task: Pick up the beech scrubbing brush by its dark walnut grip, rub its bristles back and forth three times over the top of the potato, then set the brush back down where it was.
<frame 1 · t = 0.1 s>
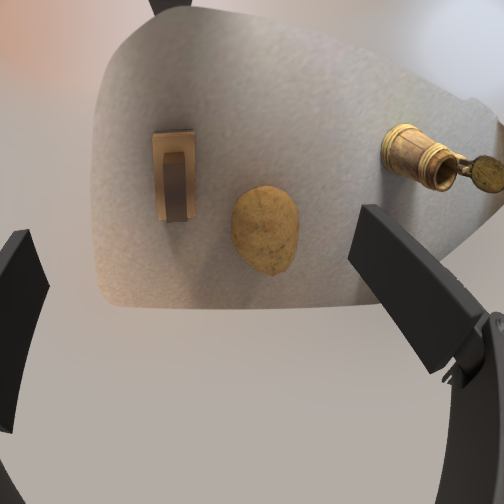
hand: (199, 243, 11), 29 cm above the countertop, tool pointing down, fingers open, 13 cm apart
potato: (258, 216, 45), on the countertop
wooden mug: (409, 145, 43), on the countertop
brush: (174, 170, 37), on the countertop
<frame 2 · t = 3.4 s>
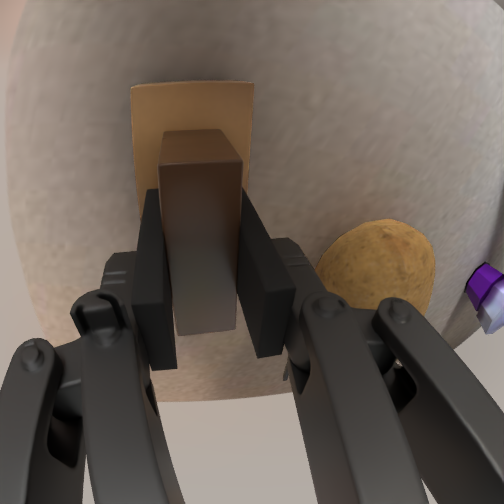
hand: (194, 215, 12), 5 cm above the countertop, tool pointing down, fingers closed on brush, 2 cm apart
potato: (345, 268, 23), on the countertop
brush: (189, 178, 16), on the countertop, touching gripper
potion bottle: (476, 277, 32), on the countertop
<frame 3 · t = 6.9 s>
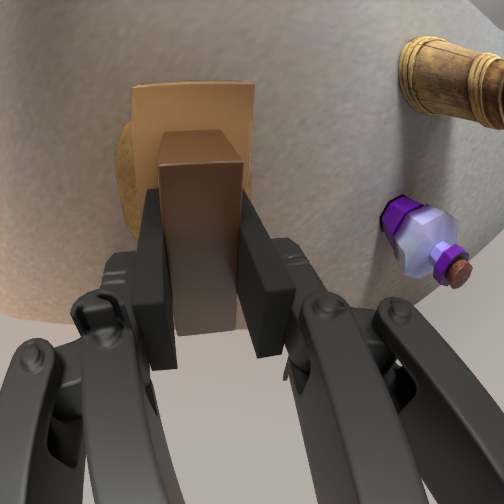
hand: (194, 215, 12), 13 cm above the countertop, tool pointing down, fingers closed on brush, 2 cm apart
potato: (184, 174, 24), on the countertop
wooden mug: (439, 73, 23), on the countertop
brush: (189, 178, 16), point 8 cm above the countertop, touching gripper
potion bottle: (396, 214, 33), on the countertop
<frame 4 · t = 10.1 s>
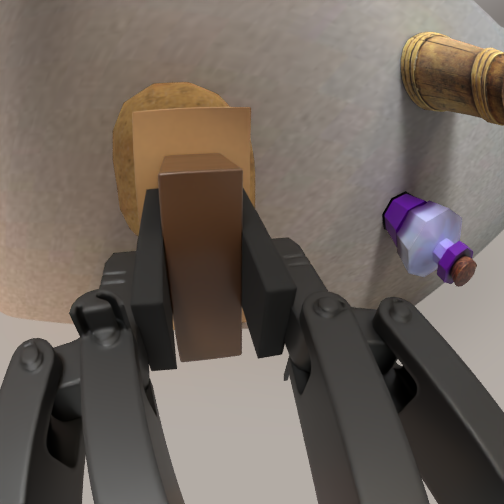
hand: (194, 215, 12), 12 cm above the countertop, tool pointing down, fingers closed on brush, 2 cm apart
potato: (185, 172, 23), on the countertop
wooden mug: (442, 69, 22), on the countertop
brush: (190, 209, 16), point 9 cm above the countertop, tilted 10°, touching gripper
potion bottle: (399, 212, 32), on the countertop
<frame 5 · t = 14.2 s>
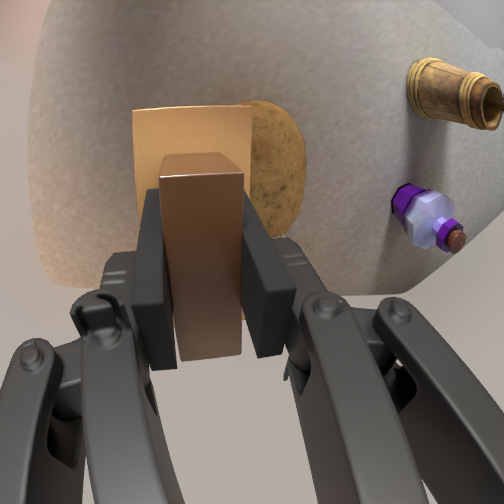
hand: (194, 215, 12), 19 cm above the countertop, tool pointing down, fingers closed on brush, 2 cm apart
potato: (248, 157, 31), on the countertop
wooden mug: (438, 86, 30), on the countertop
brush: (190, 207, 16), point 15 cm above the countertop, tilted 8°, touching gripper
potion bottle: (404, 199, 40), on the countertop
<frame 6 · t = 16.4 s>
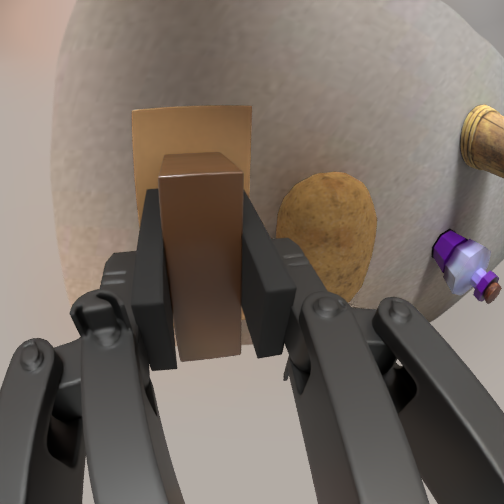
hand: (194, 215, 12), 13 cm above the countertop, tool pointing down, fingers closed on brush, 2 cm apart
potato: (309, 219, 30), on the countertop
wooden mug: (485, 133, 28), on the countertop
brush: (190, 207, 16), point 9 cm above the countertop, tilted 9°, touching gripper
potion bottle: (443, 243, 38), on the countertop
when the fingers open (5 cm above the countertop, at t = 18.3 s): brush stays where it is, on the countertop.
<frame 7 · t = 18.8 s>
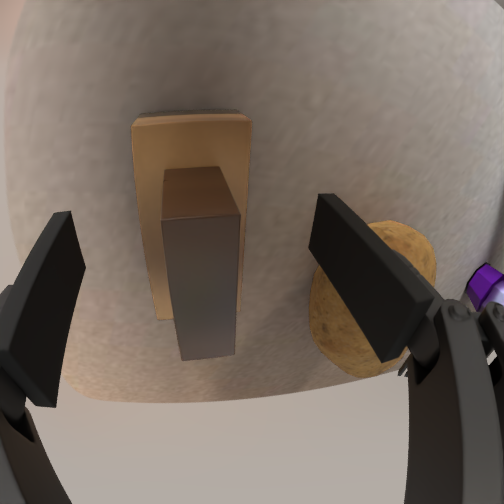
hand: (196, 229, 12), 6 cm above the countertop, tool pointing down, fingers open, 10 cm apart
potato: (346, 270, 23), on the countertop
brush: (189, 205, 17), on the countertop
potion bottle: (477, 277, 32), on the countertop
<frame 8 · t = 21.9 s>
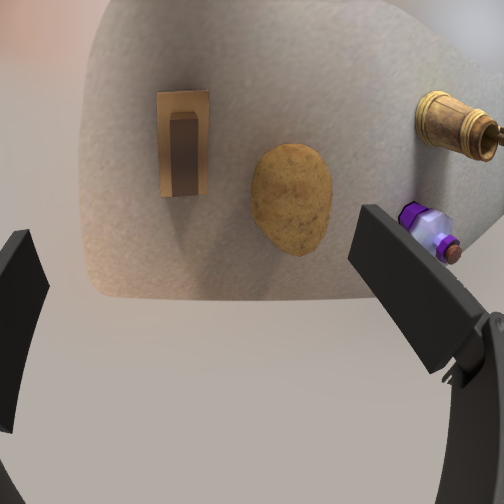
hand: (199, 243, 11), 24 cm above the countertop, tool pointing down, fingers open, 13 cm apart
potato: (280, 186, 37), on the countertop
wooden mug: (442, 116, 35), on the countertop
brush: (182, 138, 30), on the countertop
potion bottle: (409, 215, 45), on the countertop
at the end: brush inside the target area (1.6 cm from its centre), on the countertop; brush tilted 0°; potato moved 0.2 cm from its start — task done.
